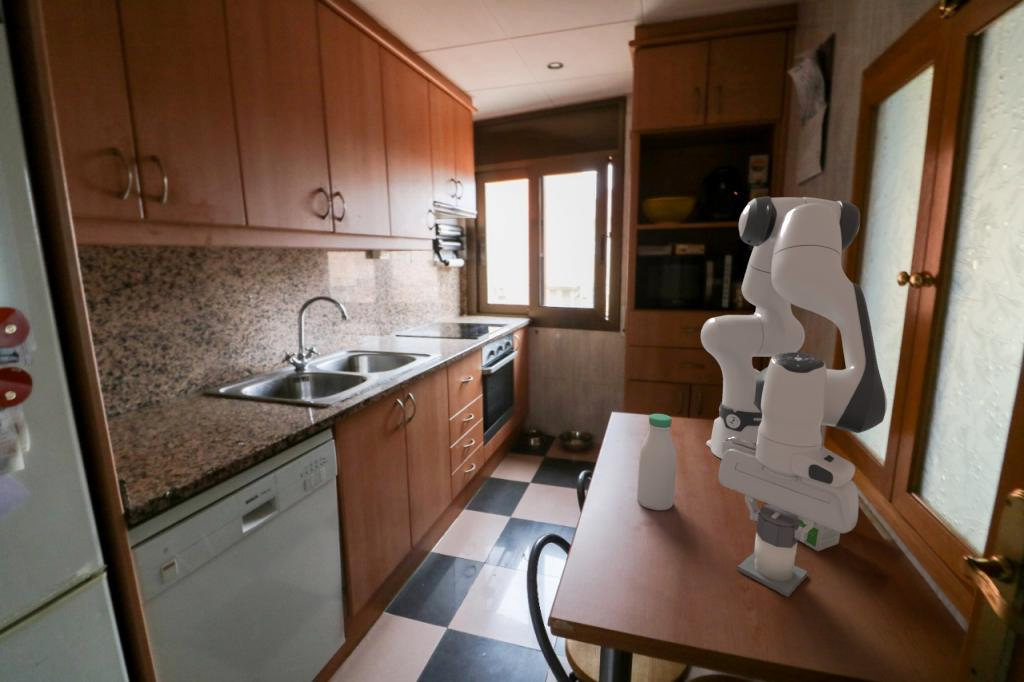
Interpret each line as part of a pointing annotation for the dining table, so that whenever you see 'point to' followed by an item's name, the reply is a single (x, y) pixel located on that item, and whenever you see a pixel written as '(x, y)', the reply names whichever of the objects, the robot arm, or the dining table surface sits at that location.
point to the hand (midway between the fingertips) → (777, 529)
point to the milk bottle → (657, 465)
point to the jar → (773, 567)
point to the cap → (777, 526)
